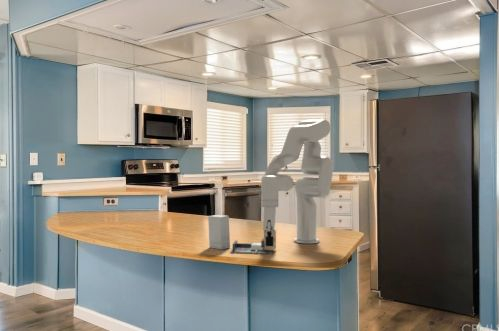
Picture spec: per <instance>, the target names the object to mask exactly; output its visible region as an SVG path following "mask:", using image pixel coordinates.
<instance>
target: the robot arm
mask: <svg viewBox="0 0 499 331" xmlns="http://www.w3.org/2000/svg"><path fill="white" fill-rule="evenodd" d="M331 128H332V126H331V123H330V122H329V120H327V119H323V118H321V119H320V118H319V119H306V120H302V121H299V122H298V124H297V125H294V126H292V127H290V128H289V130H288V132H287V135H286V137H285V140H284V143H283V146H282V148H281V149H282V150H281V152H280V153H279V154H278V155H276V157H274V159H272V161H271V162H270V163H269V164H268V165H267V168H266V170H265V171H264V175H263V176H262V177H261V182H260V183H261V185H260V186H261V206H260V207H261V208H263V213H262V214H263V215H262V216H263V217H262V219H263V220H262V224H263V225H262V230H263V231H264V230H266V246H273V230H275V228H276V219H277V218H276V216H277V215H276V214H277V212H276V211H277V208H279V192H289V191H291V190H292V189H293V187H294V191H295V195H296V196H295V197H296V237H294V238H293V242H295V243H298V244H306V245H308V244H317V243H319V242H320V238H318V237H317V203H316V201H315V199H314V198H319V199H321V198H327V197H328V196H329V194H330V191H331V186H332V181H333V180H332V178H333V172H334V163H333V160H332V159H331V158H330V157H329V156H326V155H325V156H324V155H321V152H322V146H321V144H320V140H322V139H324V138H326V137H328V135H329V134H330V133H331ZM302 149H303V152H302V159H301V165H300V166H301V167H300V170H301V172H302V174H303V175H307V177H299V178H298V179H297V180H296V181H294V179H293V177H291V175H288V174H278V173H279V172H280V171H281V170H282V169H283V168H284V167H286V166H288V165H291V164H293V163H295V162H296V161H298V159H299V158H300V154H301V151H302ZM308 176H318V177H308ZM294 182H295V184H294Z"/></svg>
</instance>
